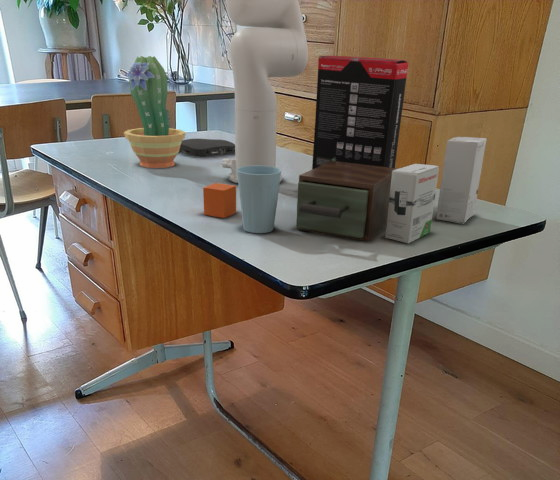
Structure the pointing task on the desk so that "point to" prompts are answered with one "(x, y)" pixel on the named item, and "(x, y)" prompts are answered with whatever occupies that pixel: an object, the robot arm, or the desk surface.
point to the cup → (258, 197)
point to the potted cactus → (152, 115)
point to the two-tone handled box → (332, 208)
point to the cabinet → (358, 177)
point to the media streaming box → (206, 147)
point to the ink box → (411, 202)
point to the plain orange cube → (219, 200)
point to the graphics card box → (358, 110)
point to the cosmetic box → (460, 179)
